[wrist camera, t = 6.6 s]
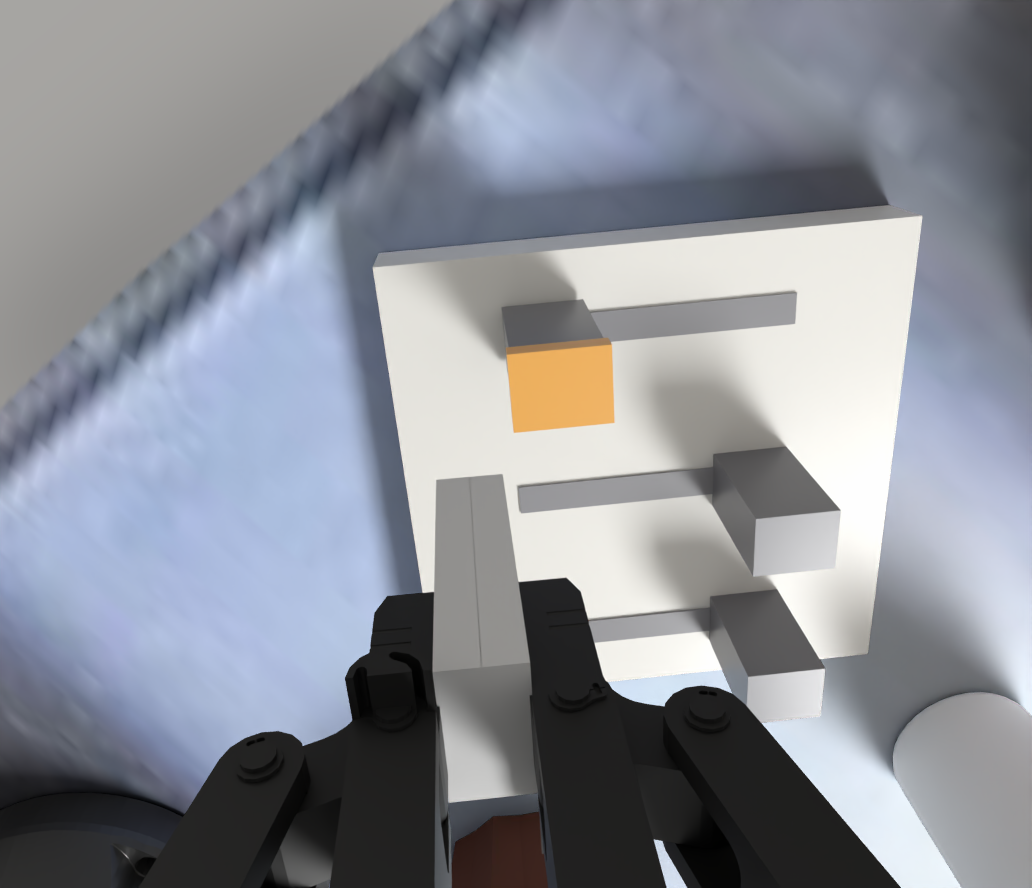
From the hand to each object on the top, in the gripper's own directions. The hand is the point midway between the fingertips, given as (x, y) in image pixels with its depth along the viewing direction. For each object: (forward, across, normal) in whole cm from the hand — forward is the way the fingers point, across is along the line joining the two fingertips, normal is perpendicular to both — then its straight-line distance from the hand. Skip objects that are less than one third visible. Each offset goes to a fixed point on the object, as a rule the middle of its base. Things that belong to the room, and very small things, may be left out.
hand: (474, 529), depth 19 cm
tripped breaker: (+13, -3, 0) cm, 13 cm away
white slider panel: (+16, -7, +6) cm, 19 cm away
